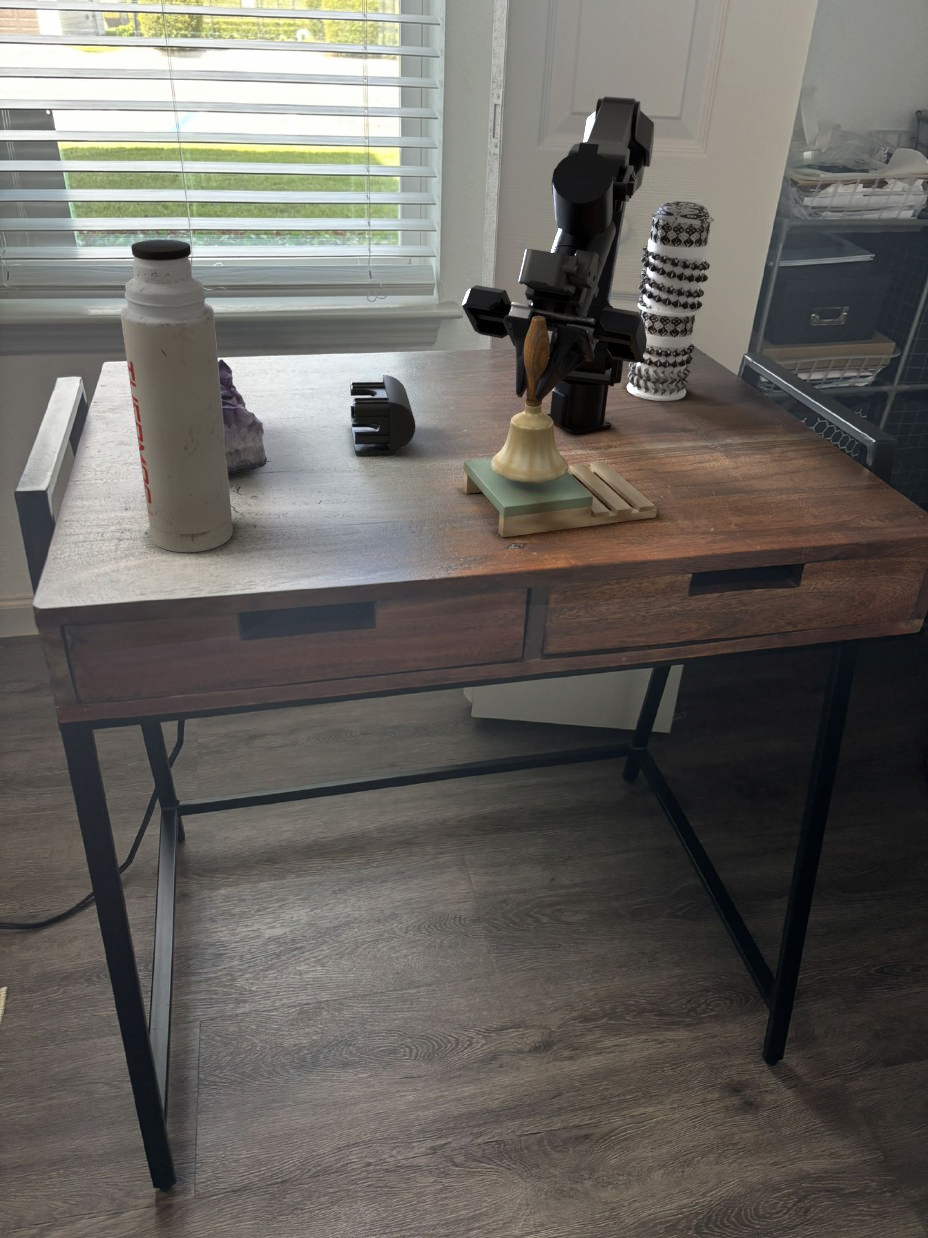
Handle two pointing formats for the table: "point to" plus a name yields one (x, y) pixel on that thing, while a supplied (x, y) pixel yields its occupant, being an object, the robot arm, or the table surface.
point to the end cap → (381, 417)
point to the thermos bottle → (176, 399)
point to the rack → (557, 498)
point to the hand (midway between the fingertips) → (527, 397)
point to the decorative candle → (670, 299)
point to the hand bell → (532, 422)
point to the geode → (239, 427)
